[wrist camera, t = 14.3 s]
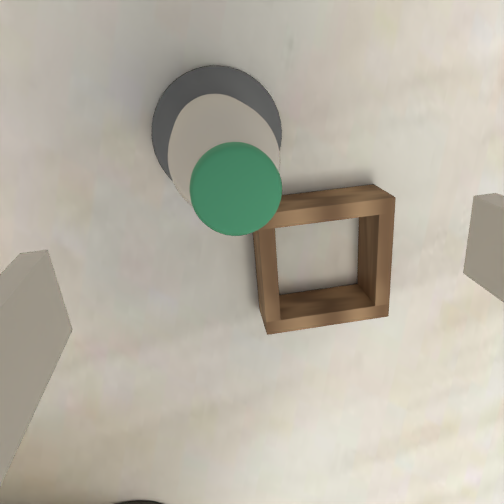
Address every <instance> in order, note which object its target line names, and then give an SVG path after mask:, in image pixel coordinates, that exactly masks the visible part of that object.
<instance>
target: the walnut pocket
mask: <svg viewBox="0 0 504 504" xmlns="http://www.w3.org/2000/svg"><path fill="white" fill-rule="evenodd" d="M394 213H395V197H394V196H392V195H391V194H389V193H387V192H386V191H384V190H382V189H381V188H379V187H377V186H375V185H374V184H372V185H364V186H356V187H347V188H339V189H331V190H323V191H314V192H306V193H298V194H289V195H282V196H281V201H280V204H279V207H278V209H277V211H276V213H275V214H274V216H273V217H272V219H271V220H270V221H269V222H268V223H267V224H266V225H265V226H263V227H262V228H260V229H259V230H257V231H255V232H253V240H254V252H255V263H256V274H257V286H258V297H259V308H260V312H261V316H262V319H263V323H264V326H265V329H266V333H267V335H268V334H275V333H281V332H288V331H295V330H301V329H308V328H314V327H321V326H327V325H334V324H341V323H347V322H354V321H360V320H367V319H373V318H380V317H387V316H388V313H389V297H390V280H391V263H392V246H393V230H394ZM357 217H359V236H358V279H357V284H353V285H346V286H339V287H332V288H325V289H318V290H311V291H304V292H297V293H290V294H283V295H279V287H278V271H277V256H276V240H275V228H279V227H287V226H295V225H303V224H310V223H318V222H326V221H334V220H342V219H349V218H357Z"/></svg>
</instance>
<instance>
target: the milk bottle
mask: <svg viewBox="0 0 504 504" xmlns="http://www.w3.org/2000/svg"><path fill="white" fill-rule="evenodd" d="M168 167H169V171H170V175H171V178H172V180H173V183H174V185H175V187H176V188H177V190H178V192H179V193H180V194H181V196H182V197H183V198H184V199H185V200H186V201H187V202H188V203H189V204H190V205H192V206H193V208H194V210H195V212H196V214H197V216H198V217H199V218H200V220H201V221H202V222H203V223H204V224H206V225H207V226H208V227H210V228H211V229H213V230H214V231H216V232H219V233H222V234H225V235H231V236H240V235H246V234H250V233H252V232H255V231H257V230H259V229H260V228H262V227H263V226H265V225H266V224H267V223H268V222H269V221H270V220H271V219H272V217H273V216H274V214H275V213H276V211H277V209H278V207H279V204H280V201H281V196H282V182H281V178H280V174H279V168H280V153H279V147H278V144H277V141H276V138H275V136H274V133H273V131H272V129H271V128H270V126H269V125H268V123H267V122H266V121H265V120H264V119H263V118H262V117H261V116H260V115H259V114H258V113H257V112H256V111H255V110H253V109H252V108H250V107H249V106H247V105H246V104H244V103H242V102H241V101H239V100H237V99H235V98H233V97H230V96H227V95H223V94H206V95H202V96H200V97H197V98H195V99H194V100H192V101H190V102H189V103H188V104H187V105H186V106H185V107H184V108H183V109H182V110H181V112H180V113H179V115H178V117H177V119H176V121H175V124H174V127H173V130H172V133H171V137H170V140H169V146H168Z"/></svg>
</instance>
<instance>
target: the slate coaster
mask: <svg viewBox="0 0 504 504" xmlns="http://www.w3.org/2000/svg"><path fill="white" fill-rule="evenodd" d="M206 94H223V95H227V96H230V97H233V98H235V99H237V100H239V101H241V102H242V103H244V104H246V105H247V106H249V107H250V108H252V109H253V110H255V111H256V112H257V113H258V114H259V115H260V116H261V117H262V118H263V119H264V120H265V121H266V122H267V123H268V125H269V126H270V128H271V129H272V131H273V133H274V136H275V138H276V141H277V144H278V147H279V151H280V146H281V139H282V129H281V121H280V117H279V113H278V110H277V107H276V105H275V103H274V101H273V99H272V97H271V96H270V95H269V93H268V92H267V90H266V89H265V88H264V87H263V86H262V85H261V84H260V83H259V82H258V81H257V80H255V79H254V78H253V77H251V76H250V75H248V74H246V73H244V72H242V71H240V70H237V69H234V68H230V67H225V66H206V67H201V68H198V69H194V70H192V71H190V72H188V73H185V74H184V75H182V76H181V77H179V78H178V79H176V80H175V81H174V82H173V83H172V84H171V85H170V86H169V87H168V88H167V90H166V91H165V92H164V93H163V95H162V97H161V98H160V100H159V102H158V104H157V107H156V109H155V113H154V116H153V122H152V141H153V147H154V151H155V154H156V156H157V159H158V161H159V163H160V165H161V167H162V169H163V170H164V171H165V173H166V174H167V175H168V177H169V178H170V179H171V180H172V178H171V175H170V171H169V167H168V146H169V140H170V137H171V133H172V130H173V127H174V124H175V121H176V119H177V117H178V115H179V113H180V112H181V110H182V109H183V108H184V107H185V106H186V105H187V104H188V103H189V102H190V101H192V100H194V99H195V98H197V97H200V96H202V95H206ZM172 181H173V180H172Z"/></svg>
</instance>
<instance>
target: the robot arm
mask: <svg viewBox="0 0 504 504" xmlns="http://www.w3.org/2000/svg"><path fill="white" fill-rule="evenodd" d="M463 273H464V274H465V275H467V276H468V277H469V278H471V279H472V280H473V281H475V282H476V283H478V284H479V285H480V286H482V287H483V288H485V289H486V290H487V291H489V292H490V293H491V294H493V295H494V296H496V297H497V298H498V299H500V300H501V301H503V302H504V196H502V195H500V194H497V193H493V194H485V195H477V196H474V198H473V205H472V212H471V220H470V227H469V234H468V241H467V249H466V256H465V263H464V270H463ZM71 332H72V327H71V324H70V320H69V317H68V314H67V311H66V307H65V304H64V301H63V298H62V294H61V291H60V288H59V285H58V281H57V278H56V275H55V272H54V268H53V265H52V262H51V259H50V256H49V252H48V250H43V251H35V252H27V253H20V254H19V255H18V256H17V257H16V258H15V259H14V260H13V261H12V262H11V264H10V265H9V266H8V267H7V268H6V269H5V270H4V271H3V272H2V273H1V274H0V487H1V484H2V482H3V480H4V478H5V476H6V473H7V471H8V469H9V467H10V465H11V463H12V460H13V458H14V456H15V454H16V452H17V449H18V447H19V445H20V443H21V441H22V439H23V436H24V434H25V432H26V430H27V428H28V425H29V423H30V421H31V419H32V417H33V415H34V412H35V410H36V408H37V406H38V404H39V402H40V399H41V397H42V395H43V393H44V391H45V388H46V386H47V384H48V382H49V380H50V378H51V375H52V373H53V371H54V369H55V367H56V364H57V362H58V360H59V358H60V356H61V354H62V351H63V349H64V347H65V345H66V343H67V340H68V338H69V336H70V334H71ZM122 504H159V503H154V502H143V501H139V502H128V503H122Z"/></svg>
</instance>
